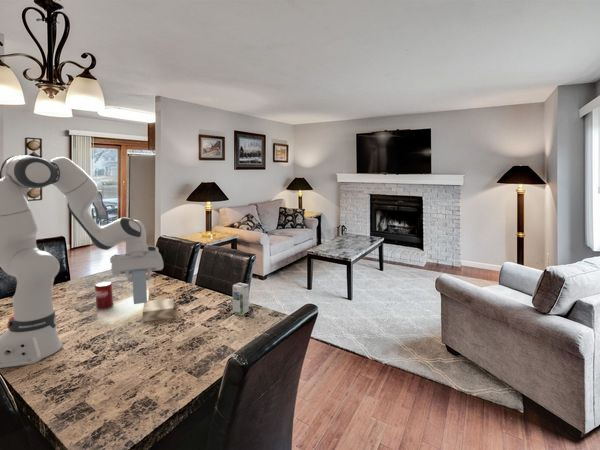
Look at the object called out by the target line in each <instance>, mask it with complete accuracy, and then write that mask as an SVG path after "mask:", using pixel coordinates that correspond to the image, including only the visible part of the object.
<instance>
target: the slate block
mask: <svg viewBox="0 0 600 450" xmlns="http://www.w3.org/2000/svg"><path fill="white" fill-rule="evenodd" d="M146 275H147V272H145V270H139V271H132V273H131V276H132V279H133V282H132V298H133V304H134V305H137V304H138V305H139V304H144V303H146V302H147V301H148V296H147V293H148V292H147V291H148V290H147V280H146Z"/></svg>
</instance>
